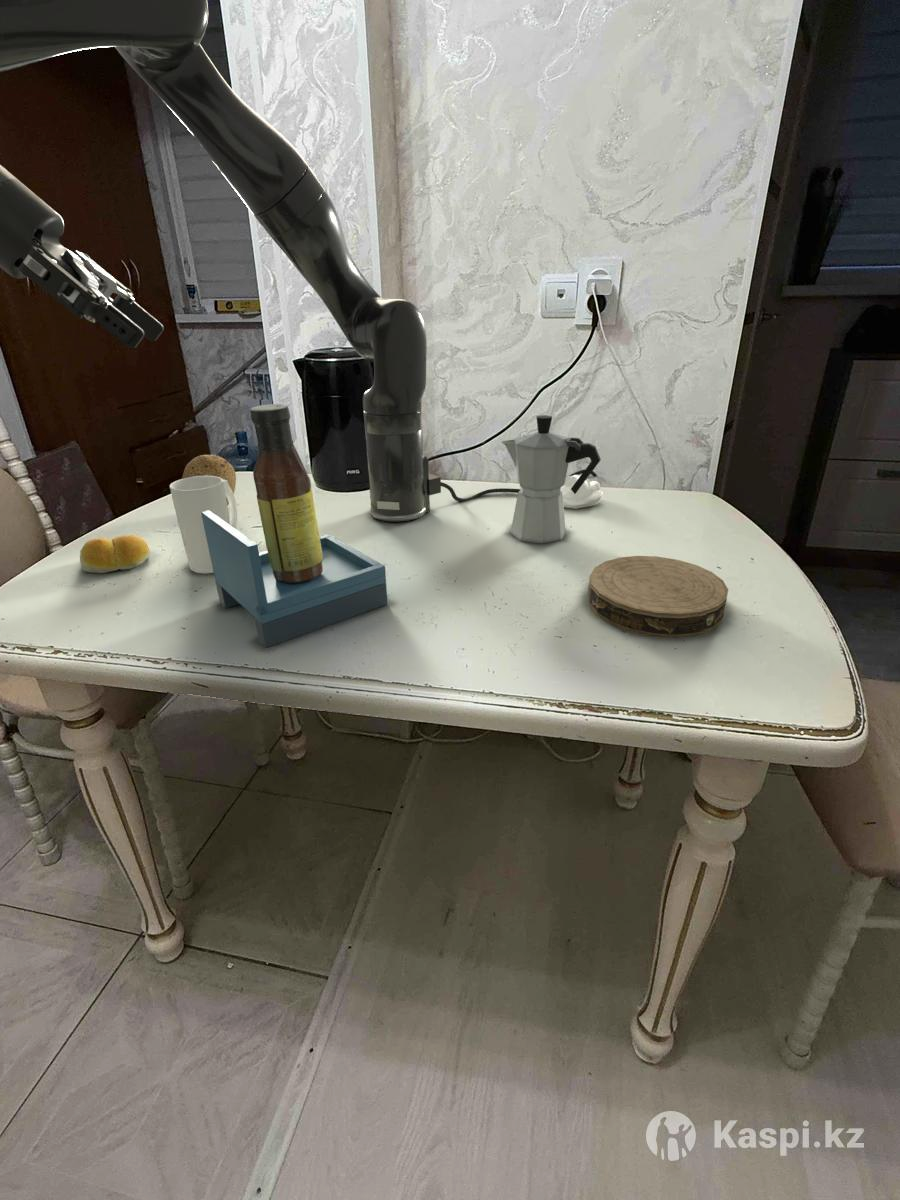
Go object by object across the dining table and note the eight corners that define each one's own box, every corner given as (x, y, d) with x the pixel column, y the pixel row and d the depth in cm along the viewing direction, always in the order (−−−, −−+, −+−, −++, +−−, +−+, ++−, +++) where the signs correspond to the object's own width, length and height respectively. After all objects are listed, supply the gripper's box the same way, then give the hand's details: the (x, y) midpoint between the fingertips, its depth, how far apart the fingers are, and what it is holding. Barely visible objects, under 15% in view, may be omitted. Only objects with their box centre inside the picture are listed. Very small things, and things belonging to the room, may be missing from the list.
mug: (216, 577, 85) (198, 492, 79) (177, 571, 87) (157, 487, 81) (261, 550, 93) (248, 471, 88) (225, 545, 95) (210, 467, 90)
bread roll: (154, 566, 89) (147, 540, 87) (83, 579, 85) (74, 552, 83) (149, 546, 95) (143, 522, 93) (83, 558, 91) (75, 532, 90)
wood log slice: (560, 599, 78) (562, 577, 76) (641, 566, 86) (644, 546, 85) (670, 653, 66) (674, 628, 65) (750, 608, 75) (755, 586, 73)
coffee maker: (490, 537, 96) (492, 418, 88) (507, 519, 104) (510, 407, 95) (587, 550, 91) (598, 425, 83) (597, 530, 99) (609, 413, 90)
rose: (614, 474, 111) (590, 487, 104) (612, 498, 113) (588, 513, 106) (564, 465, 116) (538, 477, 109) (562, 488, 118) (536, 502, 111)
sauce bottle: (333, 567, 77) (315, 402, 68) (307, 589, 72) (283, 413, 63) (288, 561, 79) (264, 400, 70) (259, 582, 74) (229, 410, 65)
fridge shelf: (332, 568, 87) (323, 485, 81) (387, 604, 77) (381, 512, 72) (219, 602, 78) (200, 511, 73) (266, 648, 68) (248, 546, 63)
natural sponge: (191, 524, 104) (178, 464, 99) (183, 509, 111) (170, 453, 106) (246, 514, 108) (236, 457, 103) (235, 500, 115) (225, 446, 110)
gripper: (-25, 163, 51) (155, 313, 58) (43, 186, 64) (184, 307, 71) (-71, 238, 53) (109, 375, 60) (4, 246, 65) (145, 358, 72)
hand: (149, 338), depth 65 cm, fingers open, 8 cm apart
